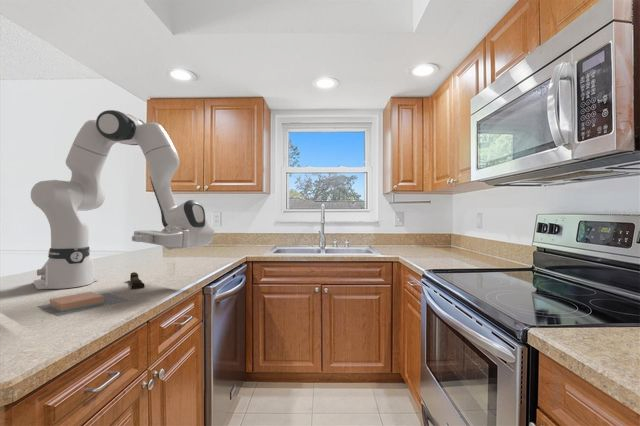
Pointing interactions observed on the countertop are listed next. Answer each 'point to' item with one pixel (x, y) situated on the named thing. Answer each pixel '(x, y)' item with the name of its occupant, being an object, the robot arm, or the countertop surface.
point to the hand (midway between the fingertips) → (134, 238)
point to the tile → (76, 301)
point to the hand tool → (136, 281)
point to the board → (107, 300)
